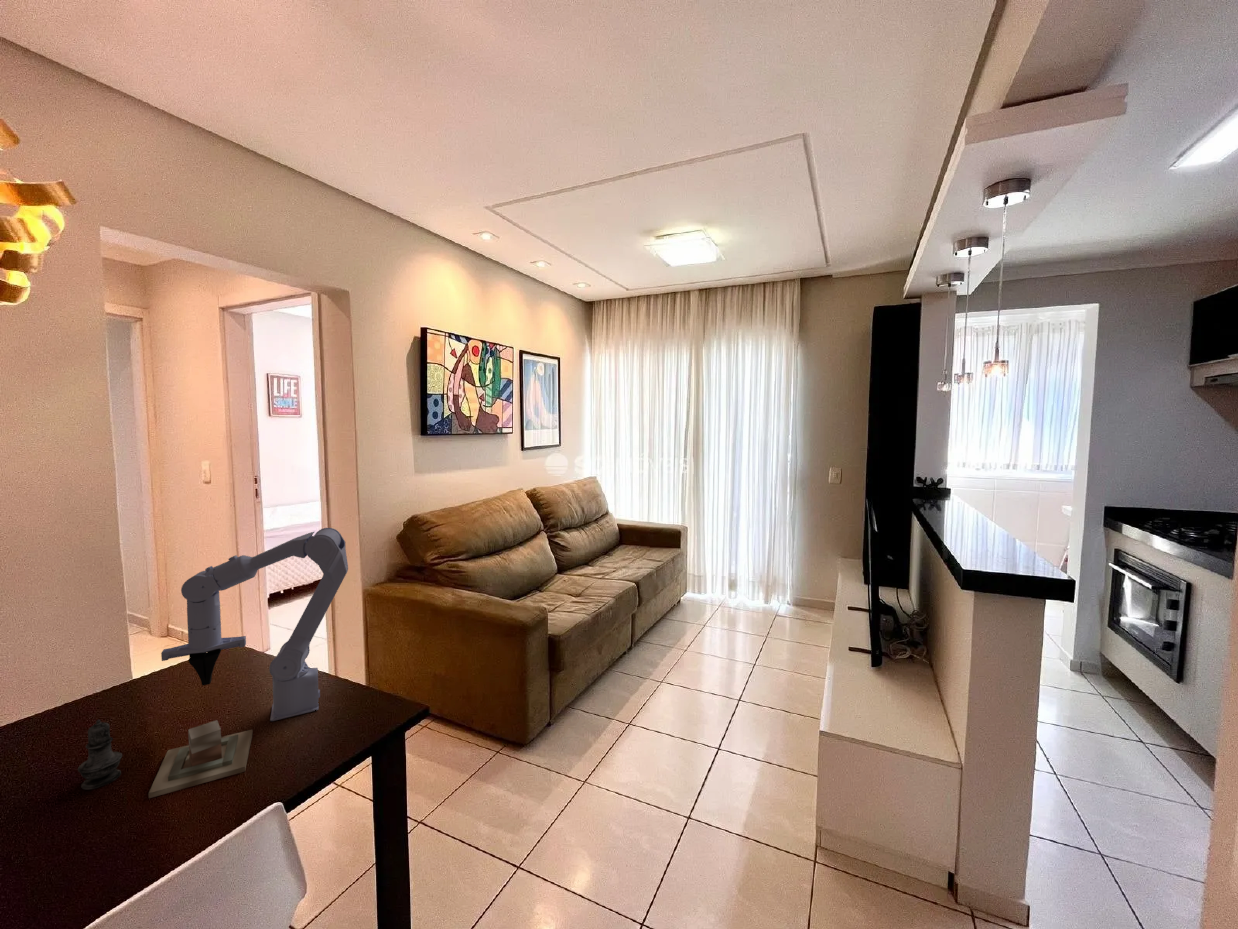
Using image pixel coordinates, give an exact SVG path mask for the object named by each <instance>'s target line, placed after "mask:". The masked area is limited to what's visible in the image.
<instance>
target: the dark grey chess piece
mask: <svg viewBox="0 0 1238 929" xmlns="http://www.w3.org/2000/svg"><path fill="white" fill-rule="evenodd" d="M110 729H111V728H110V724H109V723H108V722H105V721H103V722H102V720H101V719H99V718H98V719H97V720H96V721H95V724H93V725H92V726H89V728H88V730H87V738H88V739H87V740H88V742H87V743H86V745H85V749H87V751H88V753H87V754H88V757H87V760H85V761H84V762H82V763H81V764H80V765H79V766H78V768H77V771H78V773H80V775H81V776H82V778H84V779H85V780H84V781H83V782H82V783H81V785H80V787H81V789H82V790H88V791H89V790H96V789H98V788H101V787H104V786H106V785H109V784H111V783H113V782H114V781H116V780H117V779H118V778H119V777H121V775H122V771H121V769H118V767H119V765H120V762H121V759H122V757H123V753H122V752H120V751H113V750H112V742H113V740H114V737H112V736H111V730H110Z"/></svg>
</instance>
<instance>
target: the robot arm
mask: <svg viewBox="0 0 1238 929" xmlns="http://www.w3.org/2000/svg"><path fill="white" fill-rule="evenodd" d="M291 557H296V558H300V559H305V558H306V557H308V558H309V559H310V560H311V561H313V562H314V563H315V564H316V565H318V567H319V569H320V571H321V572H322V578H320V580H319V582H318V584H317V586H316V589H315V590H314V592H313V594H312V596H311V597H310V600H309V601H308V604H307V605H306V607H305V609H304V611H303V613H302V615H301V616H300V618H299V620H298V622H297V624H296V626H295V627H294V629H293V631H292V634H291V635H290V637H289V638H288V640H287V641H286V642H284V643H283V644H282V646H281V648H280V649H279V652H278V653H277V655H276V656H275V657H274V659H272V660H271V662H270V664H269V670H268V671H269V674H270V675H271V676H272V678H271V679H272V701H273V702H272V705H271V711H270V712H271V713H270V719H269V721H270V722H275V721H278V720H282V719H283V720H284V719H287V718H291V717H295V716H299V715H305V714H308V713H311V712H316V711H318V710H319V707H320V706H319V705H320V704H319V703H318V702H319V698H321V689H319V673H318V672H319V671H318V670H319V668H318V667H312V668H311V667H309V665H308V663H307V662H306V659H307V658H308V656H309V654H310V651H311V650H310V644H311V642H312V640H313V638H314V637H315V634H316V632H317V630H318V629H319V627H320V625H321V623H322V621H323V619H324V617H325V615H326V613H327V612H328V609H329V607H330V605H331V603H332V601H333V600H334V598H335V596H336V594H337V592H338V590H339V589H340V586H341V584H342V583H343V581H344V580H345V578H346V575H347V573H348V571H349V564H348V556H347V549H346V541H345V539H344V537H343V536H342V534H341V533H340V531H338V529H336V528H332V527H324V528H320V529H319V530H318V531H317V532H315V531H312V532H309V533H305V534H302V535H299V536H297V537H294V538H292V539H289V540H287V541H286V542H284V543H281V544H278V545H277V546H274V547H273V548H269V549H268V550H266V551H264V552H261V553H258V554H257V555H255V556H249V555H244V554H243V555H242V554H241V555H240V556H238V555H237V554H236V555H232V556H230V557H229V558H227V559H228V561H226V562H223V563H220V564H219V565H216V566H214V567H213V565H211V566H208V567H206V568H205V570H201V571H199V572H197V573H196V574H194V575H193V576H191V577H190V578H188V579H187V580H186V581H185V582H184V583H182V585H181V589H180V592H181V595H182V597H183V598H184V599H185V600H186V618H187V619H186V621H187V636H188V637H187V640H188V643H186V644H185V643H184V644H183V645H178V646H174V647H170V648H163V649H162V651H161V653H160V654H161V656H160V657H161V661H162V662H165V661H168V660H170V659H176V658H180V657H181V658H182V657H187V656H189V657H188V663H189V665H190V666H192V668H193V669H194V670H195V671H196V674H197V675H198V677H199V679H200V682H201V685H202V686H203V687H204V686H207V685H211V682H212V677H213V674H214V673H213V672H214V668H215V665H216V663H217V661H218V659H219V657H220V654H221V652H222V650H229V649H234V648H245V647H246V644H247V636H246V635H243V636H231V637H229V636H228V637H222V621H221V620H222V619H221V601H220V598H221V597H220V591H221V592H222V591H225V590H228V589H230V588H232V587H235V586H237V585H239V584H242V583H244V582H246V581H248V580H250V579H253V578H255V577H256V575H257V573H258V571H259V570H261V569H262V568H266V567H268V566H271V565H274V564H276V563H278V562H281V561H283V560H286V559H289V558H291ZM315 710H316V711H315Z"/></svg>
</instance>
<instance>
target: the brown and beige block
mask: <svg viewBox="0 0 1238 929" xmlns="http://www.w3.org/2000/svg"><path fill="white" fill-rule="evenodd" d="M187 730H188V731H187V733H188V745H189V758H190V762H191V765H192V766H196V765H200V764H203V763H207V762H211V761H215V760H217V759H220V758H222V749H221V737H222V731H221V730H222V728H221V726H220V725H219V721H218V720H217V719H216V720H213V721H210V722H207V723H203V724H200V725H197V726H194V727H191V728H189V729H187Z"/></svg>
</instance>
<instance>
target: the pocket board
mask: <svg viewBox="0 0 1238 929" xmlns="http://www.w3.org/2000/svg"><path fill="white" fill-rule="evenodd" d="M253 732H254V730H253V729H249V730H245V731H241V732H235V733H231V734H228V735H224V736H221V749H222V758H220V759H217V760H215V761H211V762H207V763H203V764H200V765H196V766H192V765H191V762H190V758H189V744H188V745H183V746H180V747H176V748H172V749H168V750H167V752H166V753H165V757H164V759H163V760H162V762H161V765H160V766H159V770H158V772H157V774H156V776H155V778H154V781H153V783H152V784H151V787H150V789H149V791H148V799H151V798H155V797H159V796H161V795H162V796H163V795H166V794H169V793H173V792H177V791H181V790H185V789H188V788H191V787H194V786H199V785H201V784H204V783H208V782H213V781H215V780H216V781H217V780H220V779H223V778H227V777H230V776H233V775H238V774H241V773H244V772H246V769H247V763H248V759H249V753H250V748H251V743H252V740H253V734H254V733H253Z"/></svg>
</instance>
